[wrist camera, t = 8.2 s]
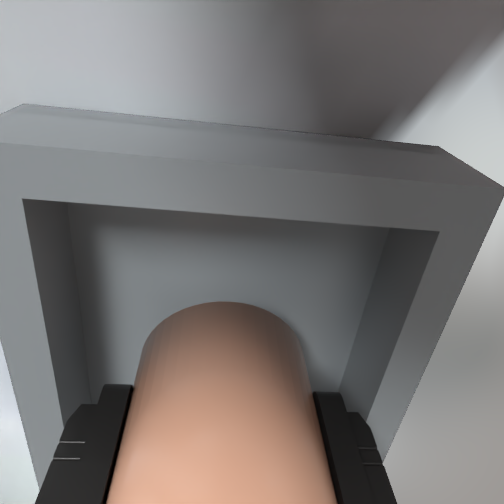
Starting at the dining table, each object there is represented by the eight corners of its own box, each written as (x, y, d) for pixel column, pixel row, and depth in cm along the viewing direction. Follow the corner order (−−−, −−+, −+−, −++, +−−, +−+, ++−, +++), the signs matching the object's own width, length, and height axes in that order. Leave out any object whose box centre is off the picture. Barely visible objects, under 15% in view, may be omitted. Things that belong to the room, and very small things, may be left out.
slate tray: (23, 103, 11) (-52, 137, 8) (438, 146, 12) (507, 188, 9) (76, 431, 18) (46, 515, 15) (337, 437, 19) (358, 515, 16)
